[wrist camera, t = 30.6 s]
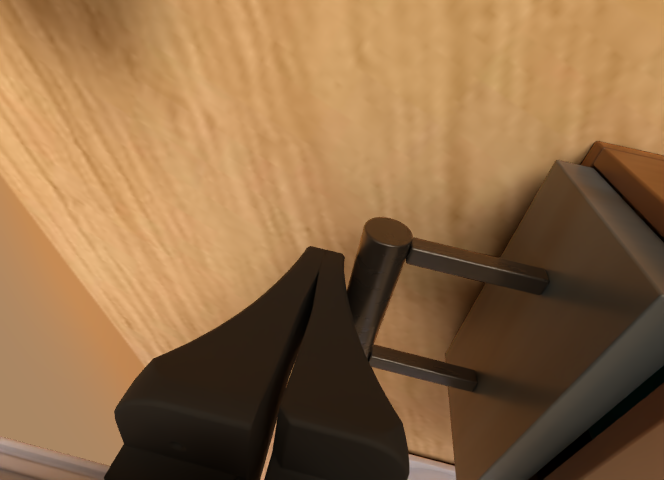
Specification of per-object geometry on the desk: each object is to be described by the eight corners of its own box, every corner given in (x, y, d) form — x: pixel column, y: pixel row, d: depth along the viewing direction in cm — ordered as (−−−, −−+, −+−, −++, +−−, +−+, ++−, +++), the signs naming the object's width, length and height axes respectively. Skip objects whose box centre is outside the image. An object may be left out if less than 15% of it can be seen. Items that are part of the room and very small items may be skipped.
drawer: (334, 326, 18) (305, 461, 13) (387, 121, 12) (371, 225, 7) (709, 420, 17) (830, 601, 12) (969, 252, 11) (1415, 474, 6)
